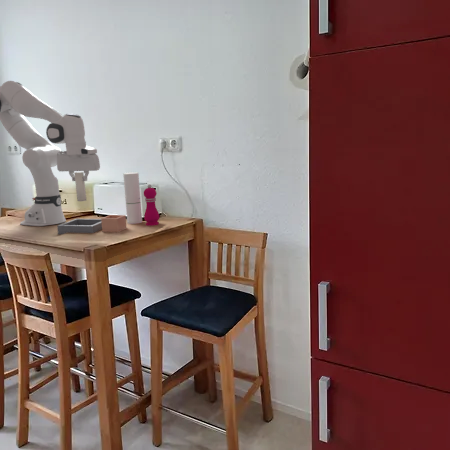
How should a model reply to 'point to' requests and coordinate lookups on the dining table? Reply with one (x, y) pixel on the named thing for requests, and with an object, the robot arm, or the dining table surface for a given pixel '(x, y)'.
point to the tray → (80, 226)
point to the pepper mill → (151, 207)
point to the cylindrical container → (132, 197)
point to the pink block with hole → (113, 223)
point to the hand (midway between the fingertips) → (79, 180)
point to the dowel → (80, 186)
